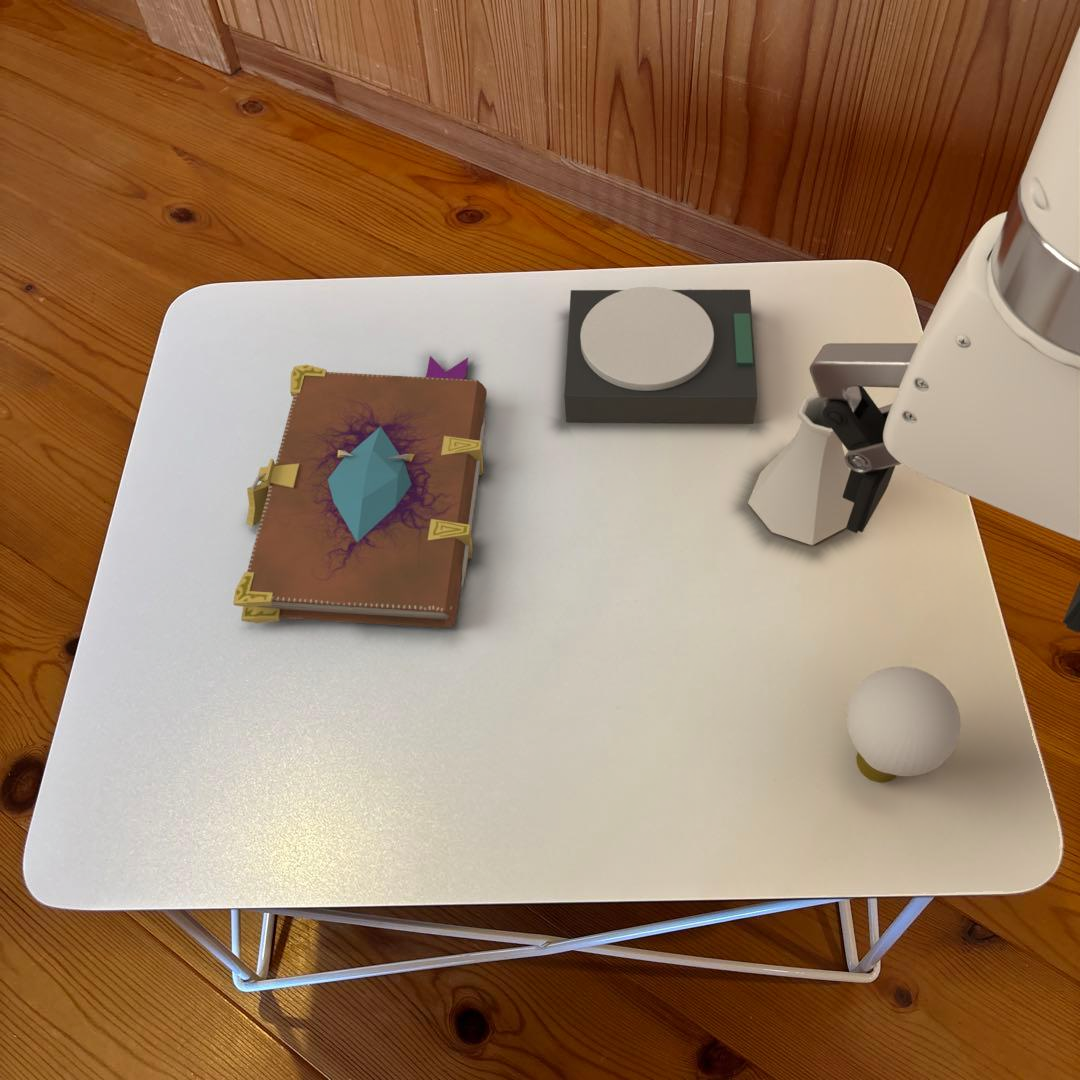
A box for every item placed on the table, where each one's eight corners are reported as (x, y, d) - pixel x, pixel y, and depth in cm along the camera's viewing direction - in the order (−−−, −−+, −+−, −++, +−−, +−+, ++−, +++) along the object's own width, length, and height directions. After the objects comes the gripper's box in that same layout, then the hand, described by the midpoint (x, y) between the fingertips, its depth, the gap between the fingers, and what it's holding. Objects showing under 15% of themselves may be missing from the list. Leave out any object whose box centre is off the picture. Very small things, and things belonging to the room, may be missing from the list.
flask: (729, 506, 74) (743, 416, 65) (789, 444, 76) (811, 350, 68) (815, 563, 71) (841, 476, 62) (874, 496, 73) (908, 404, 65)
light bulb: (807, 743, 64) (836, 673, 55) (889, 706, 65) (930, 631, 56) (860, 830, 61) (899, 769, 52) (946, 790, 62) (998, 724, 53)
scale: (746, 316, 83) (751, 281, 80) (753, 423, 78) (758, 389, 74) (572, 317, 85) (570, 282, 81) (565, 422, 79) (563, 389, 76)
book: (497, 367, 83) (494, 322, 79) (462, 643, 70) (456, 607, 66) (296, 357, 84) (283, 312, 80) (223, 627, 71) (203, 591, 67)
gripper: (1476, 276, 30) (1199, 577, 44) (903, 106, 36) (822, 421, 50) (1431, 455, 27) (1148, 718, 41) (810, 236, 33) (752, 533, 47)
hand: (969, 554), depth 46 cm, fingers open, 9 cm apart
